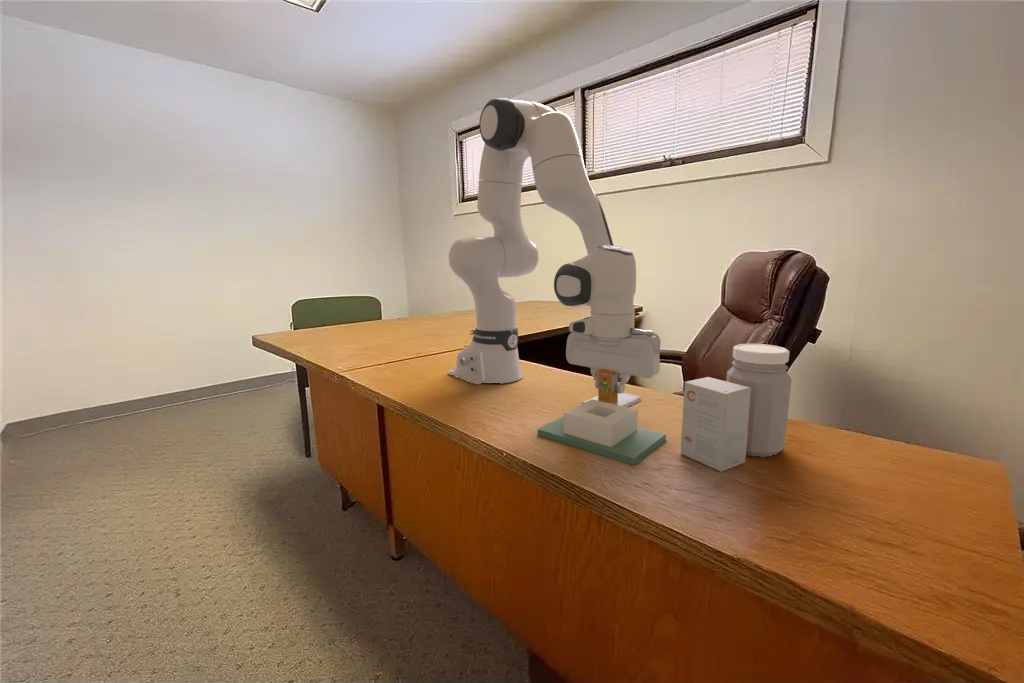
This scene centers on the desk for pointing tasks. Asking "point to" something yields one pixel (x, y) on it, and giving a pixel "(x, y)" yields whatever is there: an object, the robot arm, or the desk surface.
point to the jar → (763, 394)
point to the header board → (616, 452)
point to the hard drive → (623, 399)
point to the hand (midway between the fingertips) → (609, 390)
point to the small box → (715, 422)
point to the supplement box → (607, 386)
